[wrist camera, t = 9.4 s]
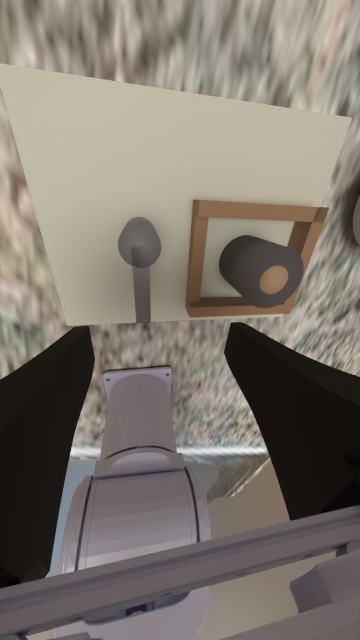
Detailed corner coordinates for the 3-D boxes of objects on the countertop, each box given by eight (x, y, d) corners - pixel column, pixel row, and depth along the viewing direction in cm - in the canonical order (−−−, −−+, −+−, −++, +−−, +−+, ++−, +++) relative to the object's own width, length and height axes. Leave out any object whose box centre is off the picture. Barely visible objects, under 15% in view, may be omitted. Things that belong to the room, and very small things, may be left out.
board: (275, 311, 23) (315, 343, 18) (70, 319, 19) (45, 363, 14) (337, 123, 15) (443, 82, 10) (6, 74, 11) (-109, -34, 6)
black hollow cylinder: (257, 285, 20) (290, 309, 15) (214, 283, 19) (237, 308, 14) (271, 237, 17) (315, 249, 13) (224, 232, 17) (254, 244, 12)
